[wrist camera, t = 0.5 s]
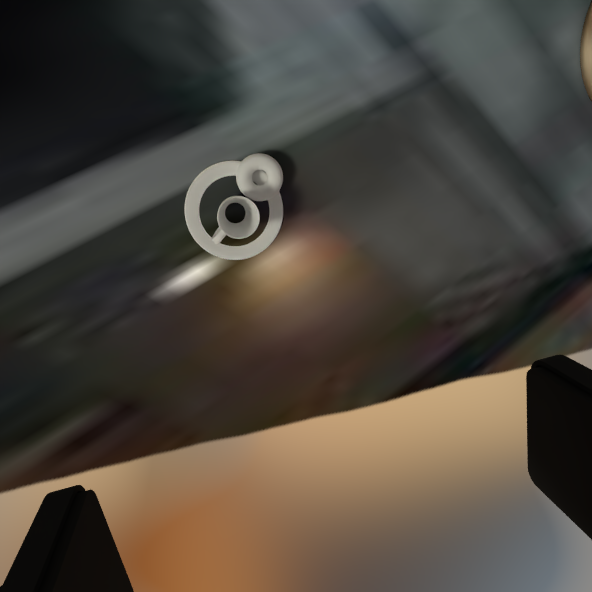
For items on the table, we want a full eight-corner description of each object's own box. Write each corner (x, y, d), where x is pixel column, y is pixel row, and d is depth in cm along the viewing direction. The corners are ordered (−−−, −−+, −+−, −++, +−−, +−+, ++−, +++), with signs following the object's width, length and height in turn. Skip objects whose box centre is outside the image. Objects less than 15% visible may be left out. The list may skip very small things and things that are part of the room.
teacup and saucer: (265, 139, 36) (272, 135, 32) (305, 228, 38) (317, 235, 35) (166, 188, 35) (161, 190, 31) (214, 274, 38) (215, 287, 34)
